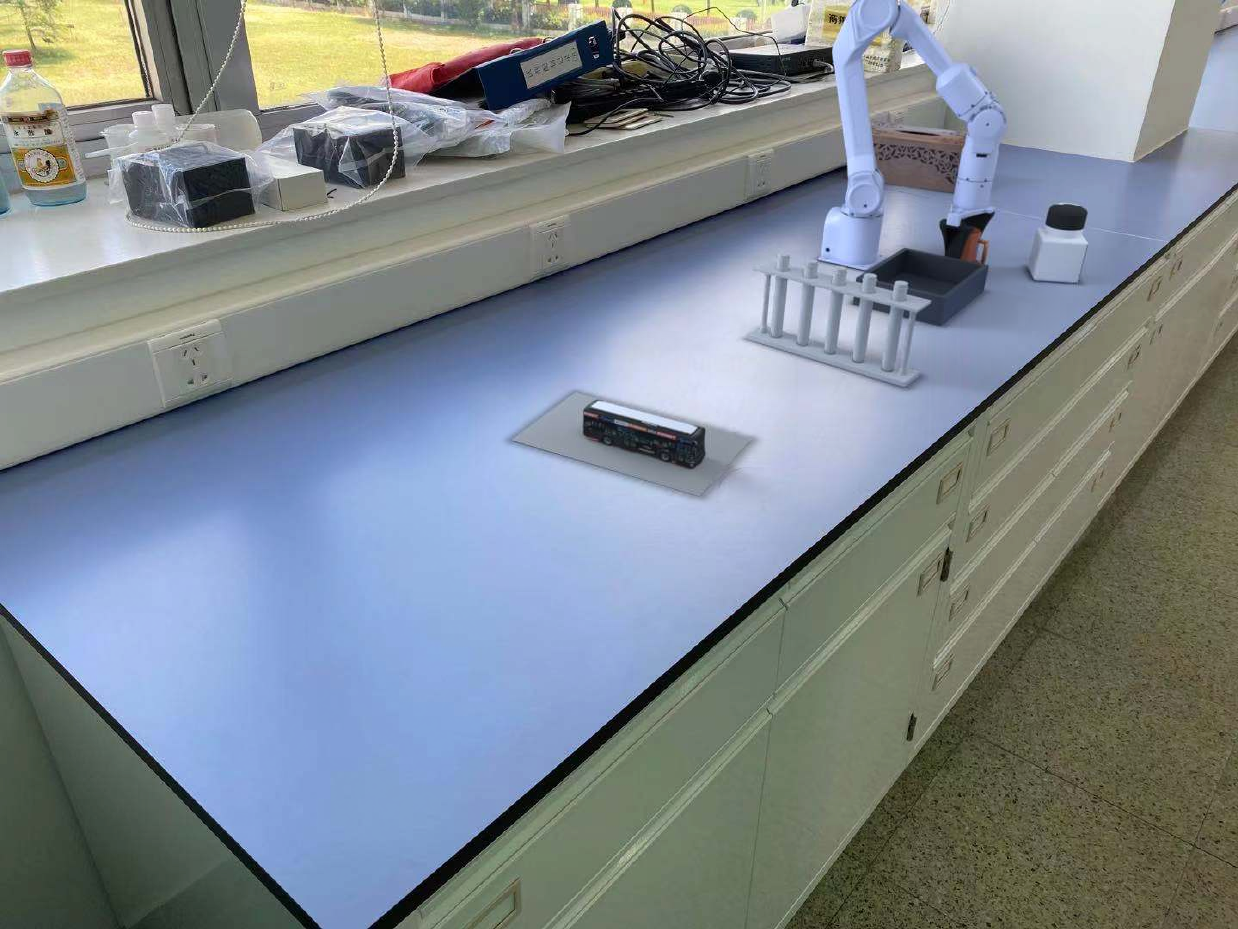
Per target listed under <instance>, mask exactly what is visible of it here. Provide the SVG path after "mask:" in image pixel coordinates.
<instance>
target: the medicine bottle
mask: <svg viewBox="0 0 1238 929" xmlns="http://www.w3.org/2000/svg"><path fill="white" fill-rule="evenodd" d="M1088 213H1089V212H1088V210H1087V209H1086V208H1085V207H1083V206H1081V205H1079V204H1076V203H1071V202H1070V203H1069V202H1059V203H1055V204H1052V205H1051V206H1049V208H1048V211H1047V214H1046V219H1045V223H1044V226H1043V227H1037V228H1036V229H1035V233H1034V237H1033V241H1032V246H1031V249H1030V250H1031V251H1030V255H1029V258H1028V259H1029V260H1028V264H1027V268H1028V270H1029V272H1030V275H1031V276H1032V278H1033V280H1034V281H1037V282H1050V283H1065V284H1066V283H1067V284H1078V283H1079V281H1080V277H1081V273H1082V270H1083V266H1084V261H1085V258H1086V254H1087V251H1088V247H1089V242H1088V241H1087V239H1086V238H1085V237H1084V235H1083V232H1084V229H1085V226H1086V222H1087V218H1088Z"/></svg>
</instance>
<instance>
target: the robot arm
mask: <svg viewBox="0 0 1238 929" xmlns="http://www.w3.org/2000/svg"><path fill="white" fill-rule="evenodd" d="M887 30H888V36H889V37H893V38H896V39H900V40H905V41H906V42H907V43H908V44H909V45H910V47H911V48H912V49H913V50H914V51H915V52H916V54H917V55H918V56H919V57H920V58H921V59H922V61H923V62H924V63H925V64H926V65H927V66H928V68H929V69H930V70H931V71H932V72H933V74H934V75H935V76H936V82H935V91H936V92H937V93H938V94H939V95H940V97H941V98H942V99H943V100H944V102H945V103H946V104H947V106H948V107H949V108H950V109H951V111H952V112H953V113H954V115H956V117H957V118H958V119H959V120H963V121H964V124H965V126H966V128H967V131H966V132H967V135H966V140H965V145H964V147H963V149H962V154H961V160H960V165H959V171H958V176H957V181H956V187H955V192H954V193H953V199H952V201H951V203H950V210H949V212H948V213H947V218H942V219H941V220H939V224H938V227H939V230H940V232H941V235H942V239H943V246H944V256H947V257H952V258H957V259H961V256H962V253H963V250H964V247H965V244H966V242H967V240H968V238H969V236H970V234H971V233H972V231H973V230H974V229H975V228H978V229H980V230H981V232H982V233H981V237H982V236H983V234H984V231H985V230H986V228H987V226H988V224H989V223H990V221H991V220H992V219H993V218H994V216H995V214H996V211H995V209H996V207H995V206H992V205H990V202H991V197H992V196H991V192H992V189H993V184H994V178H995V173H996V169H997V163H998V158H999V153H1000V150H999V147H1000V145H1001V142H1002V140H1001V138H1002V137H1003V136H1004V135H1005V133H1006V131H1007V129H1008V124H1007V123H1008V120H1007V115H1006V113H1005V111H1004V109H1003V107H1002V105H1001V103H1000V101H999V100H998V99H996V98H997V95H996V93H995V92H994V91H993V90H991V91H989V90H988V89H987V87H986V86H985V84H983V82H982V80H980V78H979V77H978V76H977V75H978V74H979V70H978V69H977V68H976V67H975V65H971V66H969V64H968V63H967V62H958V61H957V62H956V61H953V60H952V58H951V57H950V55H949V54H948V52H946V50H945V48H944V47H943V46H942V44H941V43H940V42H939V40H938V39H937V38H936V36H935V35H934V33H933V32H932V31H931V29H929V27H928V26H927V24H926V23H925V22H924V20H923V19H922V17H921V16H920V15H919V13H918V12H917V11H915V9H914V8H912V6H910V5H909V4H908V3H907V2H906V1H905V0H899V1H898V0H854V2H853V3H852V4H851V6H850V8H849V10H848V12H847V14H846V17H845V19H844V21H843V23H842V26H841V28H840V30H839V32H838V34H837V37H836V39H835V40H834V43H833V46H832V52H831V53H832V61H833V67H834V75H835V82H836V90H837V96H838V97H837V98H838V104H839V112H840V118H841V126H842V133H843V140H844V147H845V155H846V164H847V165H846V169H847V168H848V178H847V189H846V192H845V203H843V204H842V205H841V206H833V207H832V208H831V209H830V210H829V211H828V213H827V215H826V217H825V221H824V225H823V235H822V240H821V241H822V242H821V249H820V250H821V251H820V256H819V257H818V260H819V261H821V262H827V263H831V264H835V265H838V266H843V267H847V268H848V267H849V268H853V269H858V270H862V271H868V270H869V269H871V268H872V267H874V266H876V265H877V264H879V263H880V262H882V261H884V260H885V259H887V258H886V256H885V255H880V254H879V247H880V241H881V233H882V228H883V222H884V214H885V208H883V203H884V199H885V193H884V190H885V183H884V178H883V175H882V174H881V172H880V171H879V170H878V168H877V164H876V158H875V153H874V146H873V138H872V130H871V122H872V121H871V115H870V108H869V98H868V91H867V83H866V76H865V68H864V67H865V66H864V58H863V55H864V54H865V52H866V51H867V50H868V48H869V47H870V46H871V44H873V42H874V40H875V39H876V38H877V37H879V36H880V35H882V34H883V33H884V32H886V31H887Z"/></svg>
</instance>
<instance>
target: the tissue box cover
mask: <svg viewBox="0 0 1238 929" xmlns="http://www.w3.org/2000/svg"><path fill="white" fill-rule="evenodd" d="M870 122H871V130H872V138H873V146H874V153H875V158H876V164H877V168H878V170H879V171H880V172H881V174H882V175H883V178H884V184H890V185H896V186H903V187H910V188H917V189H923V190H924V189H925V190H931V191H938V192H945V193H952V194H954V192H955V187H956V181H957V176H958V171H959V165H960V160H961V154H962V149H963V147H964V145H965V140H966V135H967V132H968V131H963V130H956V129H955V130H954V129H947V128H939V127H929V126H923V125H922V126H921V125H913V124H912V125H911V124H903V123H894V122H886V121H877V120H872V121H870ZM845 178H847V179H848V168H847V167H846V174H845Z"/></svg>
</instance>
